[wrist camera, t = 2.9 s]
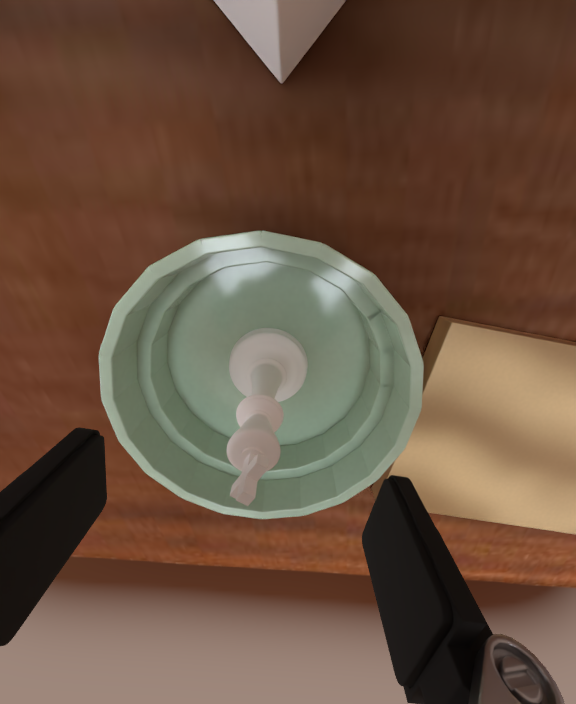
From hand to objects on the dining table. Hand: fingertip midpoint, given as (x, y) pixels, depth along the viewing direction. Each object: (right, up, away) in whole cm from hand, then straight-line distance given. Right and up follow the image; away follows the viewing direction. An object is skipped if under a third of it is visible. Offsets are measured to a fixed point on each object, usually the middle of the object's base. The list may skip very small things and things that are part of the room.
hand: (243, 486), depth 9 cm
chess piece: (0, +4, +9) cm, 9 cm away
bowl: (0, +4, +9) cm, 10 cm away
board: (+19, -1, +11) cm, 22 cm away
